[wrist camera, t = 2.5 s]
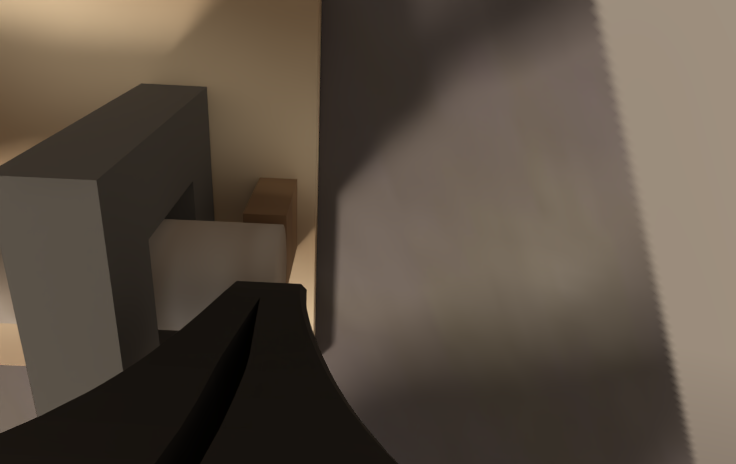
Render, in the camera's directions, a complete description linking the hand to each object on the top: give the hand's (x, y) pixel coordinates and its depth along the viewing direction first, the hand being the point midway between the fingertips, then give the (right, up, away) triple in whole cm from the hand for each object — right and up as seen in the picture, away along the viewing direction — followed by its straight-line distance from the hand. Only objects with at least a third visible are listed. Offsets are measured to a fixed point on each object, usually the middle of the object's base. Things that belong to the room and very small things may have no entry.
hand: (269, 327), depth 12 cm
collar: (-3, +2, +5) cm, 6 cm away
